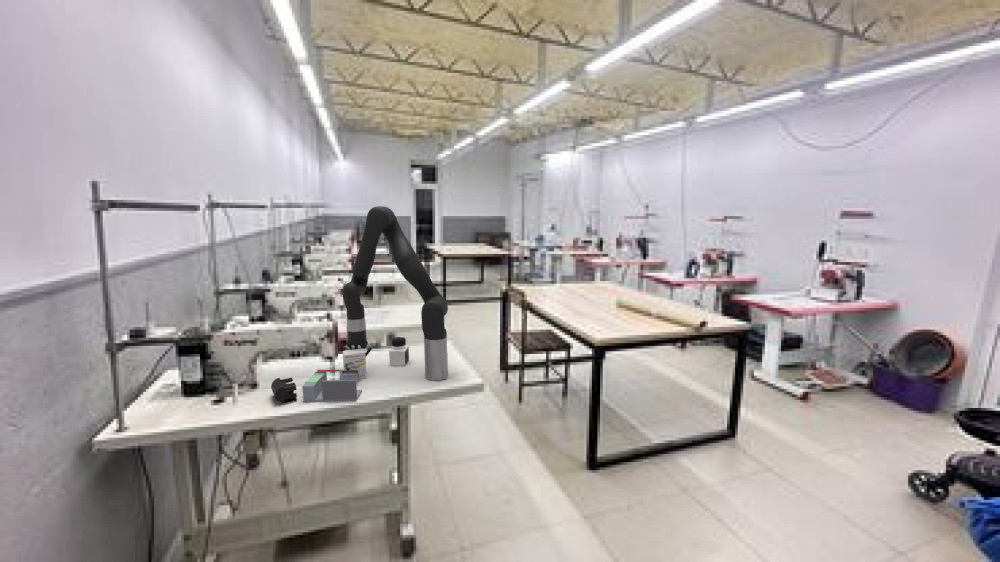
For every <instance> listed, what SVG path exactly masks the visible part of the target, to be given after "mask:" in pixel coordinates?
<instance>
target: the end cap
mask: <svg viewBox="0 0 1000 562" xmlns="http://www.w3.org/2000/svg"><path fill="white" fill-rule="evenodd" d="M293 381H294V380H293V377H287V378H282V379H281V378H280V377H277V378H275V379H274V380H273V381H272V382H271V385H270V388H271V392H272V394H273V396H274V399H275V400H276V401H277V402H278V403H280V404H283V405H285V404H290V403H294V402H297V401H298V399H297V397H298V394H297V392H295V391H297V385H296V383H295V382H293Z"/></svg>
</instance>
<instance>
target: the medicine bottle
mask: <svg viewBox="0 0 1000 562" xmlns="http://www.w3.org/2000/svg"><path fill="white" fill-rule="evenodd" d="M406 341H407V340H406V337H405V336H400V335H399V336H394V337H393V338H391V348H390V349H389V350H388V352H389V353H388V355H389V366H390V367H392V366H393V367H406V366H407V364H408V363H409V361H410V352H409V351H410V349H409V348H410V347H409V345H407V342H406Z"/></svg>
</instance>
